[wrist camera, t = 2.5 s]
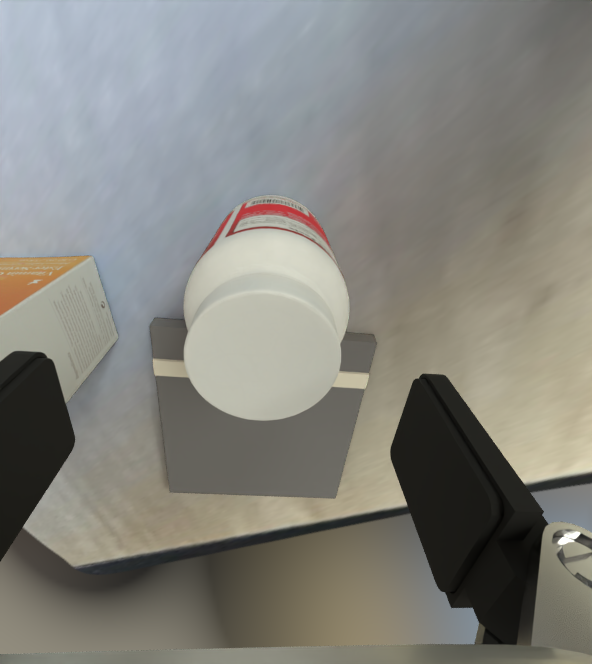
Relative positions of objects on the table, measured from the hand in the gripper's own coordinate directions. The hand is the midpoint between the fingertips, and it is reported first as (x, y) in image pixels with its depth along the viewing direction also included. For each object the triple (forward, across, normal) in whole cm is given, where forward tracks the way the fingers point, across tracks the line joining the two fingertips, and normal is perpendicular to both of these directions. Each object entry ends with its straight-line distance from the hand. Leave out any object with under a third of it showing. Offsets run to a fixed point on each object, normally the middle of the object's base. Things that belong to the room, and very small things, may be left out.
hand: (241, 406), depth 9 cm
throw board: (+12, -1, +12) cm, 17 cm away
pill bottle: (+12, -1, -1) cm, 13 cm away
